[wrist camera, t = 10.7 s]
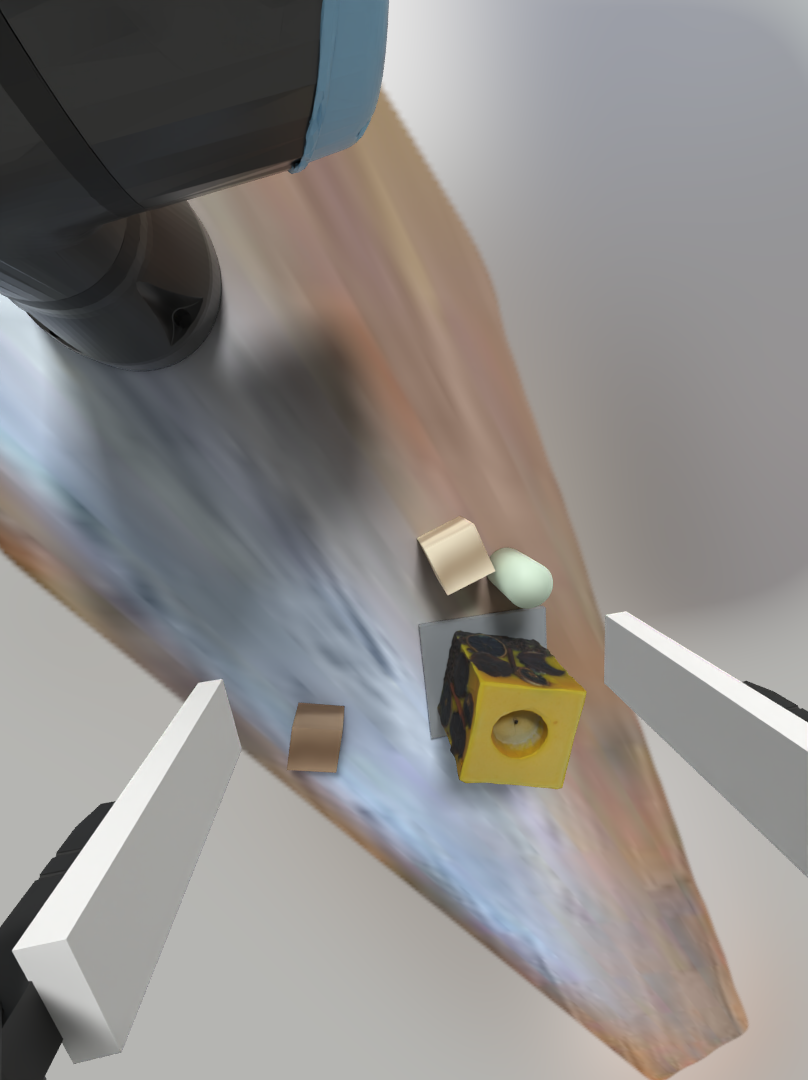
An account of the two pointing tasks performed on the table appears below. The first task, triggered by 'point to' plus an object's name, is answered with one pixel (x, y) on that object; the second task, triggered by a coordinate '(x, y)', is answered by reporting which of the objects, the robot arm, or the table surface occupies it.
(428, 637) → the coaster
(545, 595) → the sage capsule
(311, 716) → the walnut block
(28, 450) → the table surface
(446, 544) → the maple block
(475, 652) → the candle
